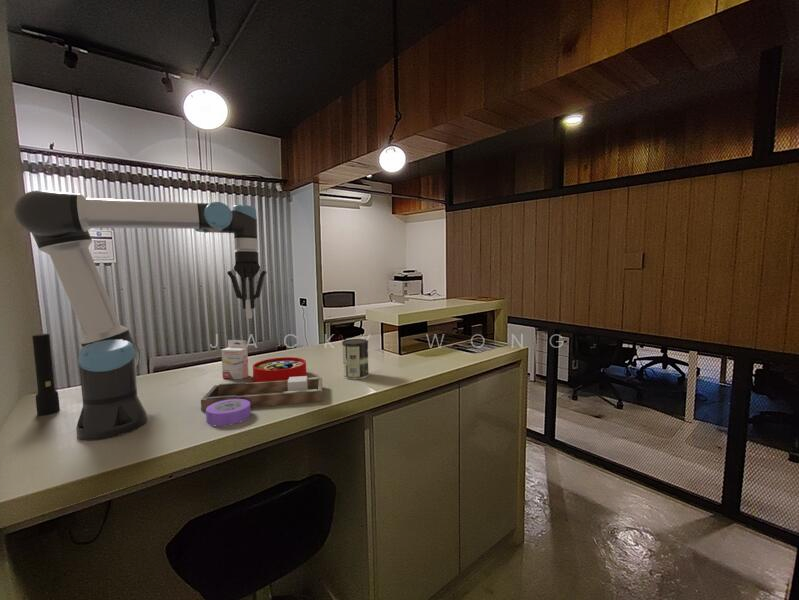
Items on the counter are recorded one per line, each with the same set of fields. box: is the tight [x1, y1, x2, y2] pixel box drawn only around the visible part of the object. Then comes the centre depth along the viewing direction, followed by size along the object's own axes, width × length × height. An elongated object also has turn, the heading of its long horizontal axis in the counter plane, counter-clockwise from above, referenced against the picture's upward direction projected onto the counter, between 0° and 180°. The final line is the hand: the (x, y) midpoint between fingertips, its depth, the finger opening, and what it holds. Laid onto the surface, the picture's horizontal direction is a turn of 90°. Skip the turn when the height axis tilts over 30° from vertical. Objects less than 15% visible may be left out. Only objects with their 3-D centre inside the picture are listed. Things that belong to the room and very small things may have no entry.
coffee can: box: [341, 338, 370, 381], centre depth 145 cm, size 10×10×14 cm
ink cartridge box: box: [221, 339, 249, 380], centre depth 145 cm, size 9×5×15 cm, turn 84°
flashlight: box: [31, 333, 60, 416], centre depth 110 cm, size 5×24×5 cm
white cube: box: [288, 375, 309, 391], centre depth 123 cm, size 6×6×6 cm
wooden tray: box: [200, 377, 323, 412], centre depth 122 cm, size 36×14×4 cm, turn 101°
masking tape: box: [205, 399, 252, 427], centre depth 106 cm, size 12×12×4 cm
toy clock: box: [252, 356, 307, 382], centre depth 145 cm, size 20×6×20 cm
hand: (249, 317), depth 129 cm, fingers closed
